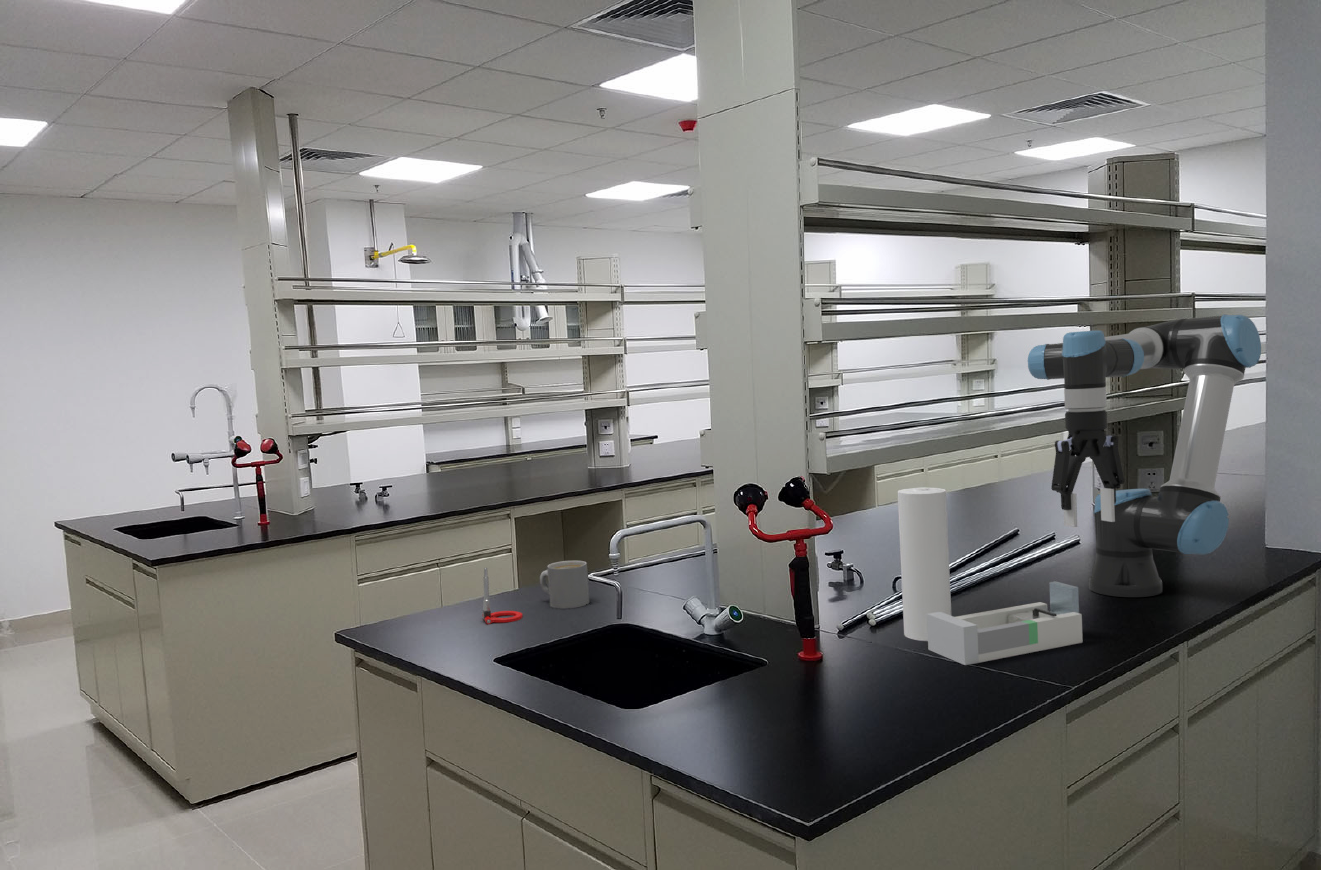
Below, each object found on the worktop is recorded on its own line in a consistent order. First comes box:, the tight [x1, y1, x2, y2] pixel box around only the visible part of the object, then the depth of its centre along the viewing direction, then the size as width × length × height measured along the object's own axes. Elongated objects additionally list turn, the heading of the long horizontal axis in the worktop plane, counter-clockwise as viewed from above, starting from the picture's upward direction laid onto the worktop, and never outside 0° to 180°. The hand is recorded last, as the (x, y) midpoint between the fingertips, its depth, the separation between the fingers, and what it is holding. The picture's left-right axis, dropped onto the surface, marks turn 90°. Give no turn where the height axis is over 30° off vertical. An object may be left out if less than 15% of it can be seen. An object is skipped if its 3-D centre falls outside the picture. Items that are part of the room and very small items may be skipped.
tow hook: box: [482, 567, 523, 625], centre depth 222 cm, size 8×13×9 cm
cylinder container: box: [897, 486, 952, 642], centre depth 187 cm, size 9×9×30 cm
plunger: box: [1003, 581, 1080, 625], centre depth 178 cm, size 16×8×8 cm, turn 109°
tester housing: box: [927, 601, 1083, 666], centre depth 177 cm, size 27×11×7 cm, turn 110°
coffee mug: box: [539, 560, 590, 610], centre depth 234 cm, size 13×10×10 cm
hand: (1089, 523), depth 183 cm, fingers open, 9 cm apart
